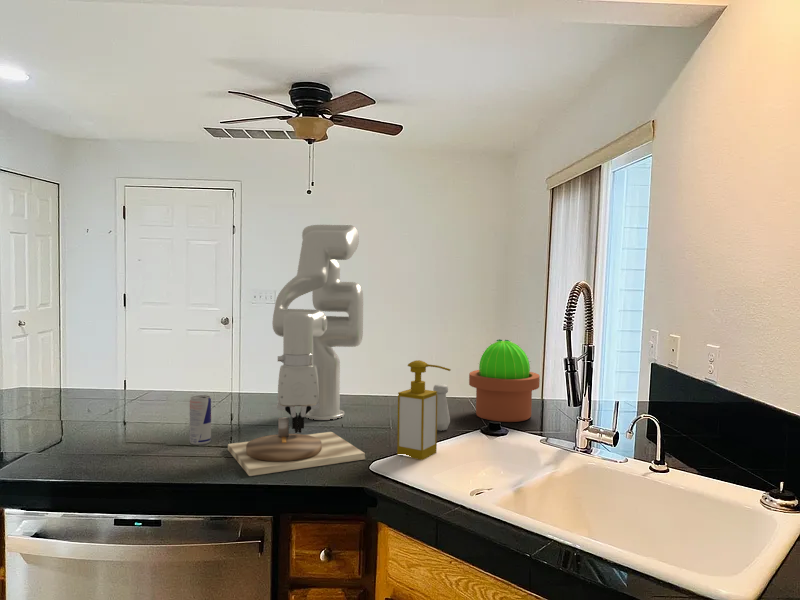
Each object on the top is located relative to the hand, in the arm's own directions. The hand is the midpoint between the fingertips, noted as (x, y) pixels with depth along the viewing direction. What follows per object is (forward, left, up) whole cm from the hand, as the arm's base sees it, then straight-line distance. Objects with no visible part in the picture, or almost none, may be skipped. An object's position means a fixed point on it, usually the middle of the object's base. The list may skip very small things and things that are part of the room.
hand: (298, 431), depth 153 cm
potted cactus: (-6, +71, -5) cm, 71 cm away
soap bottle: (+20, +27, -5) cm, 33 cm away
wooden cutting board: (+5, -2, -4) cm, 7 cm away
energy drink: (-16, -21, -5) cm, 27 cm away
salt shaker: (-1, +44, -5) cm, 44 cm away
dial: (+6, -5, -3) cm, 8 cm away
